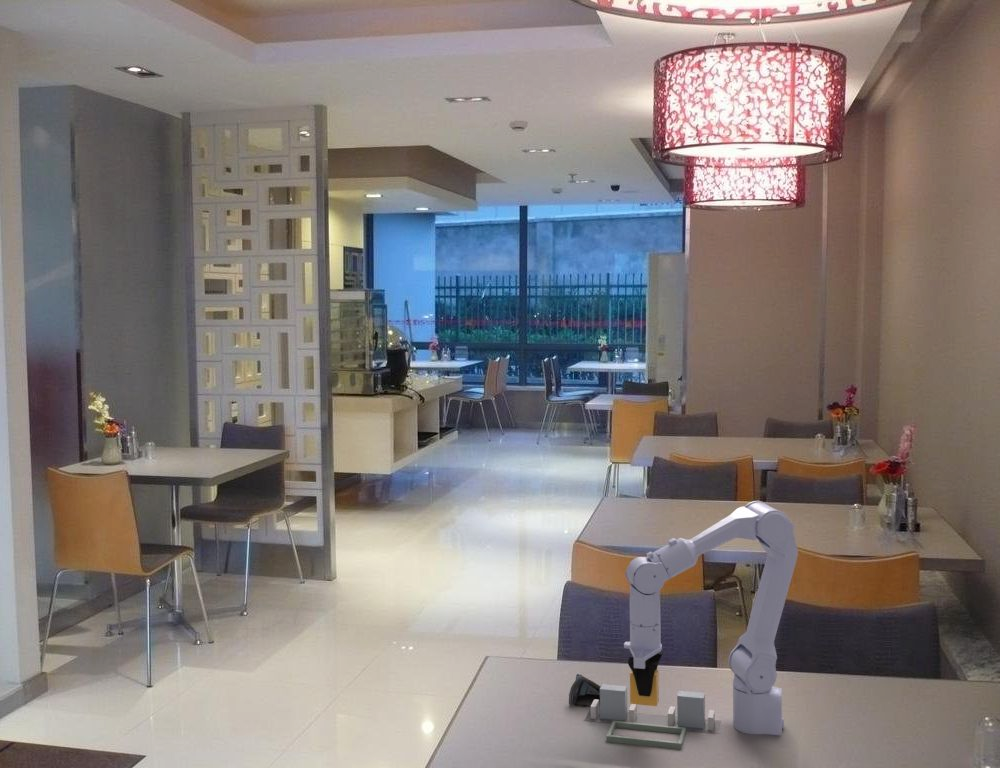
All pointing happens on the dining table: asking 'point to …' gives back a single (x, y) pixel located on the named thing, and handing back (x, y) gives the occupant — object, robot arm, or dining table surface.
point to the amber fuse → (645, 700)
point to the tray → (643, 741)
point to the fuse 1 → (613, 702)
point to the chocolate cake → (582, 690)
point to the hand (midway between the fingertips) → (646, 692)
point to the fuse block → (655, 718)
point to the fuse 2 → (691, 709)
